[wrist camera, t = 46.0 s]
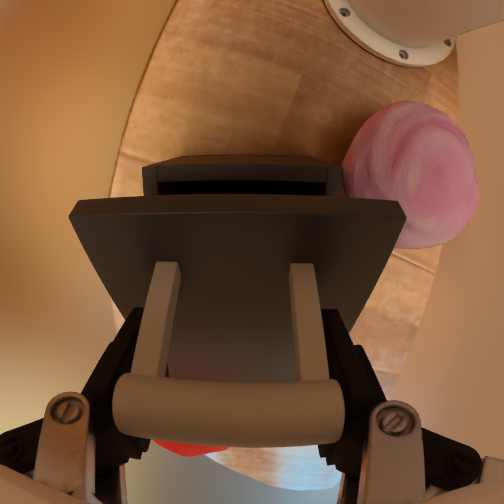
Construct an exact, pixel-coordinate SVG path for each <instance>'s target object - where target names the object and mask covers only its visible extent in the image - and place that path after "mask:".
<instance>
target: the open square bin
mask: <svg viewBox="0 0 504 504" xmlns="http://www.w3.org/2000/svg"><path fill="white" fill-rule="evenodd" d="M342 173H343V168H342V167H340V166H337V165H334V164H331V163H328V162H325V161H322V160H319V159H316V158H312V157H306V156H282V155H201V156H181V157H177V158H173V159H169V160H166V161H162V162H158V163H155V164H151V165H148V166H145V167H142V177H143V193H144V196H160V195H197V194H227V193H228V192H229V191H230V190H232V189H234V188H236V187H239V186H244V185H251V186H256V187H259V188H261V189H263V190H264V191H266V192H267V193H268V194H271V195H308V196H332V197H341V188H342Z"/></svg>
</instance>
